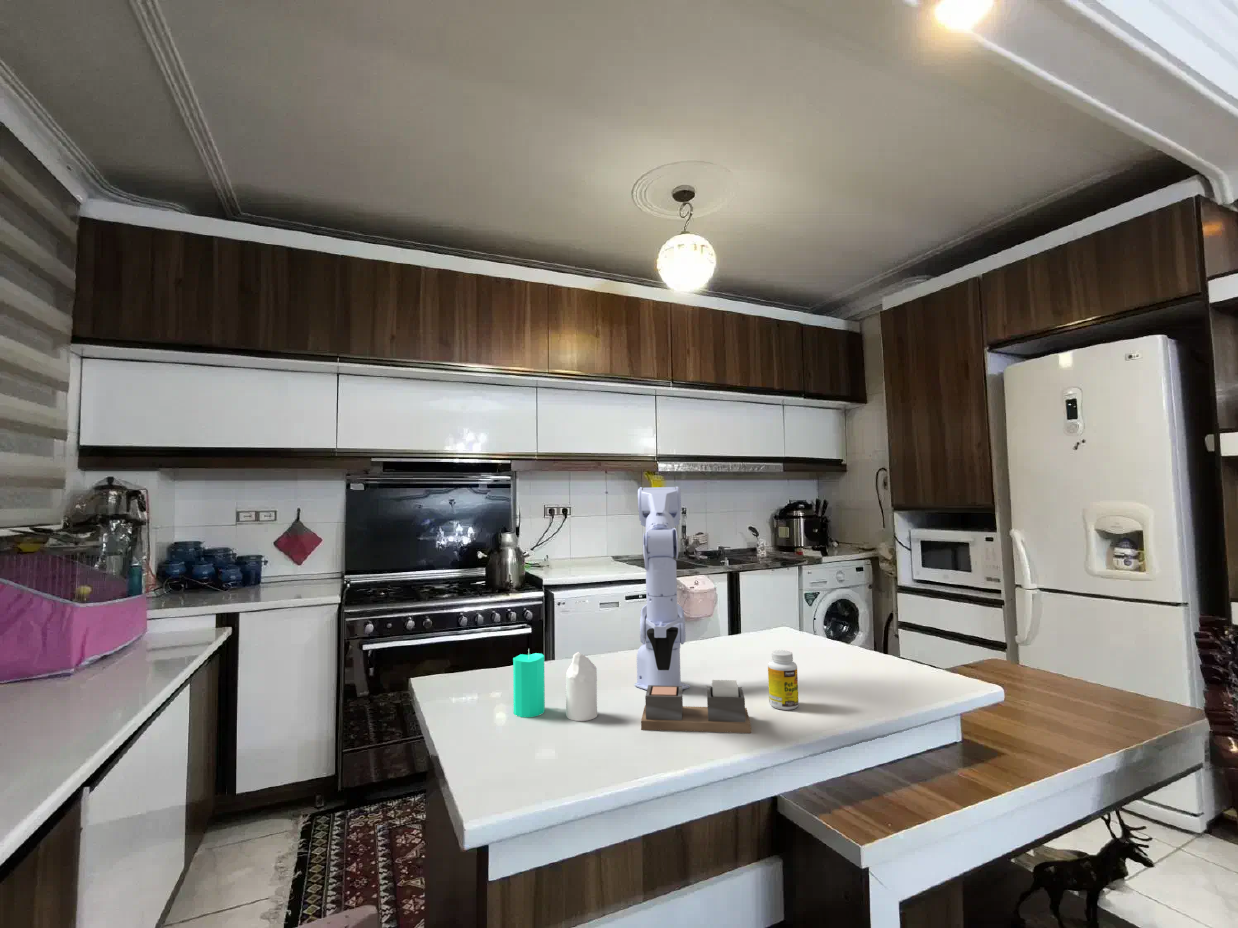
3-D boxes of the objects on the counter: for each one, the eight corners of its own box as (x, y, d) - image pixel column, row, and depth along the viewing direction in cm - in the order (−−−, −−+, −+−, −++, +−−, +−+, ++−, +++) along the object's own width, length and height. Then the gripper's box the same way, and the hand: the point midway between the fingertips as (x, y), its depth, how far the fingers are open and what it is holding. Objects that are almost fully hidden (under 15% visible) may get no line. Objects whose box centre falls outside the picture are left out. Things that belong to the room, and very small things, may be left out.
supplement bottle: (785, 713, 107) (783, 657, 108) (763, 704, 112) (761, 651, 113) (805, 706, 110) (802, 652, 111) (782, 699, 115) (780, 647, 116)
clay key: (653, 700, 107) (653, 686, 107) (677, 700, 106) (676, 686, 106) (651, 708, 102) (651, 694, 102) (676, 708, 102) (675, 694, 102)
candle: (550, 707, 112) (549, 646, 113) (535, 718, 107) (535, 653, 108) (523, 705, 114) (522, 644, 115) (507, 715, 109) (507, 651, 110)
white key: (712, 693, 105) (712, 679, 105) (736, 694, 105) (736, 680, 105) (713, 701, 101) (712, 687, 101) (738, 702, 100) (738, 687, 101)
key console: (645, 713, 108) (644, 683, 109) (746, 716, 106) (745, 685, 106) (641, 729, 100) (640, 697, 101) (751, 732, 98) (749, 700, 98)
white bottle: (598, 648, 111) (593, 655, 105) (599, 711, 110) (594, 722, 104) (568, 647, 112) (562, 654, 106) (569, 710, 111) (562, 721, 105)
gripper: (682, 600, 98) (684, 681, 97) (684, 588, 112) (686, 658, 111) (641, 600, 99) (643, 680, 98) (648, 588, 113) (650, 658, 112)
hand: (663, 669), depth 105 cm, fingers closed
